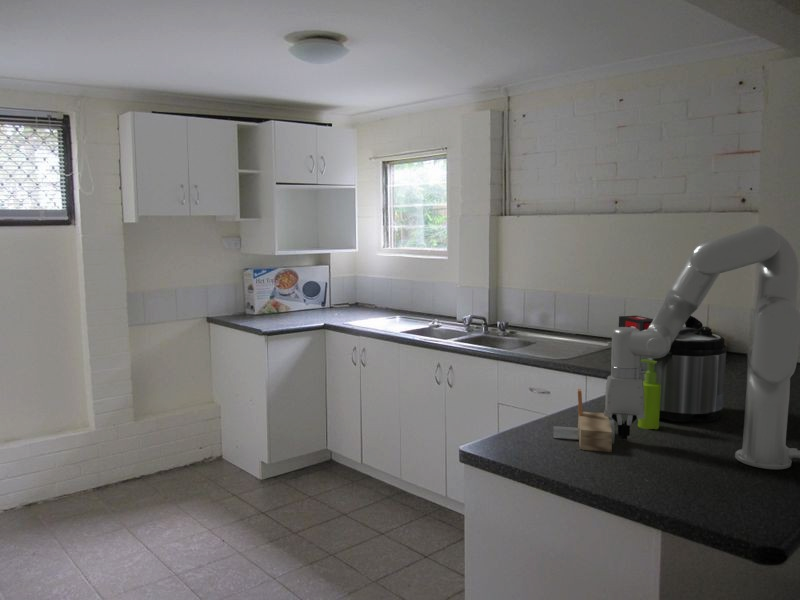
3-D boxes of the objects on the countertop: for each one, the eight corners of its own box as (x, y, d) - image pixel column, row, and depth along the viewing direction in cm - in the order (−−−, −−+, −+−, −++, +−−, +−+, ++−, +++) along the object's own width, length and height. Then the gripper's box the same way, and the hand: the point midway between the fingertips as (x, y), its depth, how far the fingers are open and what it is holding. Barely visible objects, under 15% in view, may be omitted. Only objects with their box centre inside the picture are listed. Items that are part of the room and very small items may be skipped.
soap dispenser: (638, 421, 203) (641, 357, 201) (661, 426, 199) (664, 360, 196) (631, 426, 199) (634, 360, 196) (654, 431, 194) (658, 363, 192)
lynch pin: (612, 437, 187) (613, 419, 187) (614, 443, 182) (614, 425, 182) (553, 433, 191) (553, 415, 190) (553, 439, 186) (553, 421, 185)
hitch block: (606, 431, 194) (607, 413, 193) (611, 451, 176) (612, 432, 176) (577, 429, 195) (578, 411, 195) (580, 449, 178) (580, 429, 177)
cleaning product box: (659, 368, 279) (661, 320, 277) (641, 369, 277) (643, 321, 275) (634, 360, 295) (636, 315, 293) (617, 361, 292) (619, 316, 290)
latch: (581, 388, 192) (577, 388, 193) (581, 391, 190) (577, 391, 190) (582, 412, 193) (578, 412, 193) (582, 415, 190) (579, 415, 191)
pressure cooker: (691, 399, 230) (696, 308, 226) (746, 423, 202) (753, 320, 199) (610, 402, 225) (613, 309, 221) (655, 428, 197) (660, 322, 194)
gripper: (652, 370, 184) (650, 435, 186) (596, 368, 187) (594, 432, 189) (656, 376, 177) (654, 444, 179) (597, 374, 180) (596, 440, 182)
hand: (623, 437), depth 184 cm, fingers closed
